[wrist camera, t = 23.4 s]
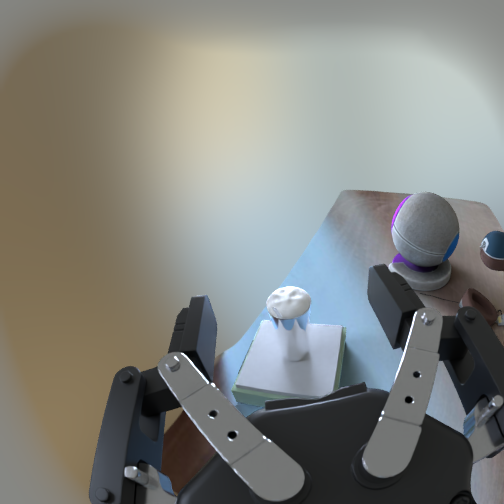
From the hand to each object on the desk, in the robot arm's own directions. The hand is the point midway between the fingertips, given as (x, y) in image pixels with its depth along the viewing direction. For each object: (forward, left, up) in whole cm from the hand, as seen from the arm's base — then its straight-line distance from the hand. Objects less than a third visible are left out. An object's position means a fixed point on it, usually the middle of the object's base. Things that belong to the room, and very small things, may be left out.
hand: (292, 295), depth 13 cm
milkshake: (-4, +10, -18) cm, 21 cm away
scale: (-4, +10, -22) cm, 25 cm away
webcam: (+16, +34, -22) cm, 44 cm away
